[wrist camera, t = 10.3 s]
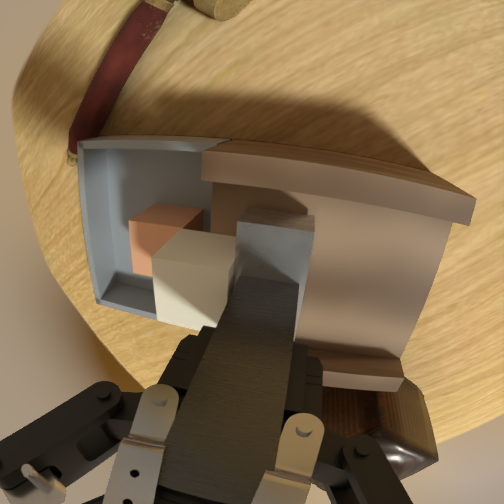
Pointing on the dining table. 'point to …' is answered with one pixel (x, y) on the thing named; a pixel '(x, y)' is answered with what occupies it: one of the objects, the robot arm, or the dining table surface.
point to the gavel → (131, 62)
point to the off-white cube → (193, 278)
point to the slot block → (347, 245)
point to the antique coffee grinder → (384, 423)
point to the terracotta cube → (158, 231)
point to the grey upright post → (243, 367)
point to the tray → (134, 204)
